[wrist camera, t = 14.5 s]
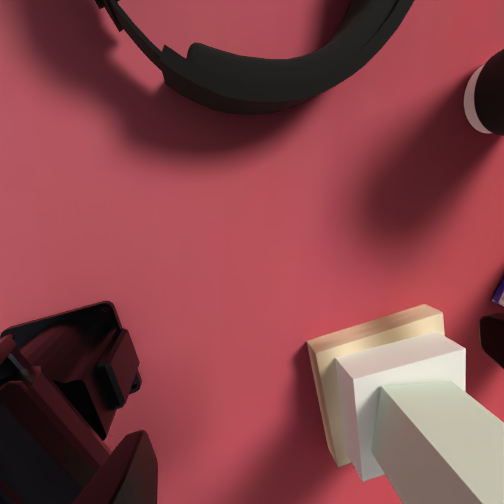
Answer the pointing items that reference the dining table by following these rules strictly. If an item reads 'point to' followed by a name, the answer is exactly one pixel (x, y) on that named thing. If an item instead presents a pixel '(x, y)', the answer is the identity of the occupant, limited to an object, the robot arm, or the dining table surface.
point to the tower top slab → (385, 374)
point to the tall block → (439, 445)
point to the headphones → (270, 62)
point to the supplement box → (499, 294)
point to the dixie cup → (486, 96)
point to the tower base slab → (353, 341)
